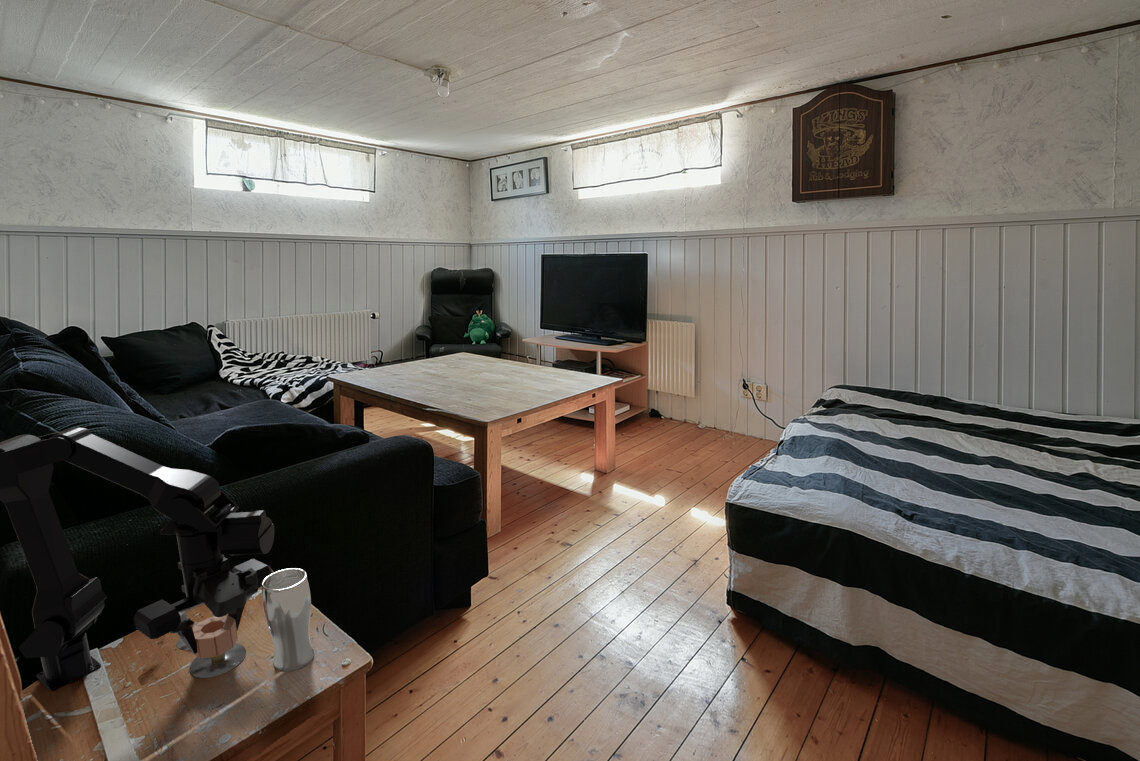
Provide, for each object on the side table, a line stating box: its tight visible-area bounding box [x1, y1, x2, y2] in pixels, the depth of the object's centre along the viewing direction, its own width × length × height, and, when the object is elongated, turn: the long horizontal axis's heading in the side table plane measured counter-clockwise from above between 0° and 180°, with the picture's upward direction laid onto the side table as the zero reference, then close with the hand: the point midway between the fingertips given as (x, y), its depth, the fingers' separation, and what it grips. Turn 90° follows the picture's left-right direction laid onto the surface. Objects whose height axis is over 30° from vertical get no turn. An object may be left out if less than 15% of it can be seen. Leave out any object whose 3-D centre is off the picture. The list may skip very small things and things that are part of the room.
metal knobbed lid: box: [176, 625, 195, 651], centre depth 100 cm, size 6×6×2 cm
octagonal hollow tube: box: [192, 614, 238, 659], centre depth 94 cm, size 6×6×4 cm
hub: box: [189, 642, 247, 679], centre depth 94 cm, size 8×8×3 cm
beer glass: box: [261, 567, 315, 673], centre depth 94 cm, size 7×7×15 cm
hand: (215, 641), depth 94 cm, fingers closed on octagonal hollow tube, 6 cm apart
